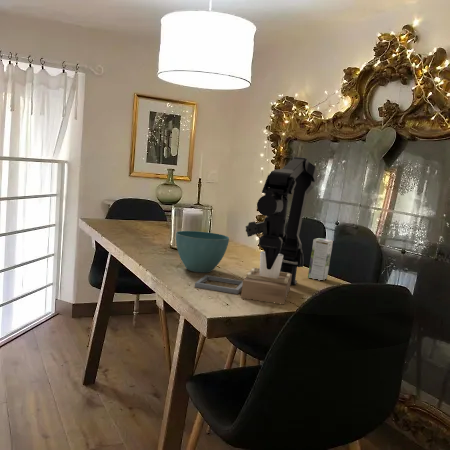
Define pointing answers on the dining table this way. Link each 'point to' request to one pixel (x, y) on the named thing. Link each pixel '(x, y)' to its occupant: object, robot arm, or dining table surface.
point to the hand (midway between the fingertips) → (270, 267)
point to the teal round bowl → (201, 249)
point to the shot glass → (275, 268)
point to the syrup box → (320, 259)
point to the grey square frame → (219, 288)
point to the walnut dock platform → (266, 287)
